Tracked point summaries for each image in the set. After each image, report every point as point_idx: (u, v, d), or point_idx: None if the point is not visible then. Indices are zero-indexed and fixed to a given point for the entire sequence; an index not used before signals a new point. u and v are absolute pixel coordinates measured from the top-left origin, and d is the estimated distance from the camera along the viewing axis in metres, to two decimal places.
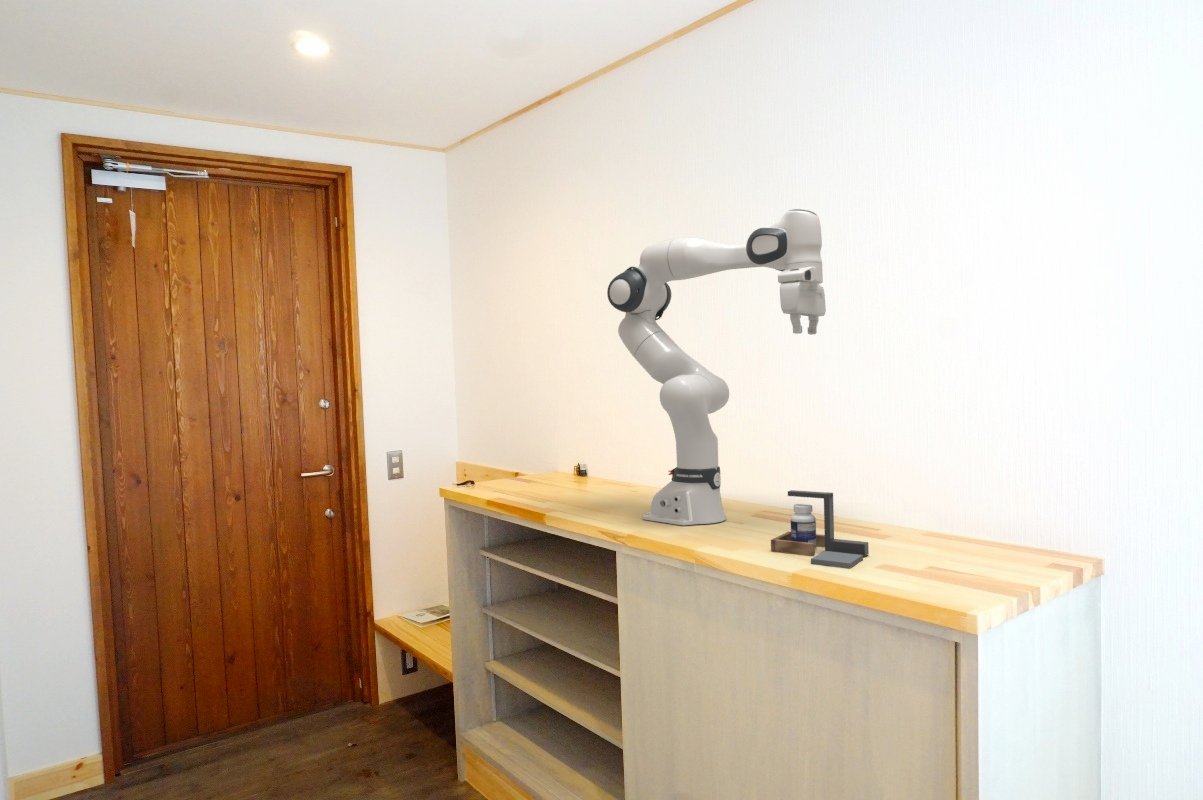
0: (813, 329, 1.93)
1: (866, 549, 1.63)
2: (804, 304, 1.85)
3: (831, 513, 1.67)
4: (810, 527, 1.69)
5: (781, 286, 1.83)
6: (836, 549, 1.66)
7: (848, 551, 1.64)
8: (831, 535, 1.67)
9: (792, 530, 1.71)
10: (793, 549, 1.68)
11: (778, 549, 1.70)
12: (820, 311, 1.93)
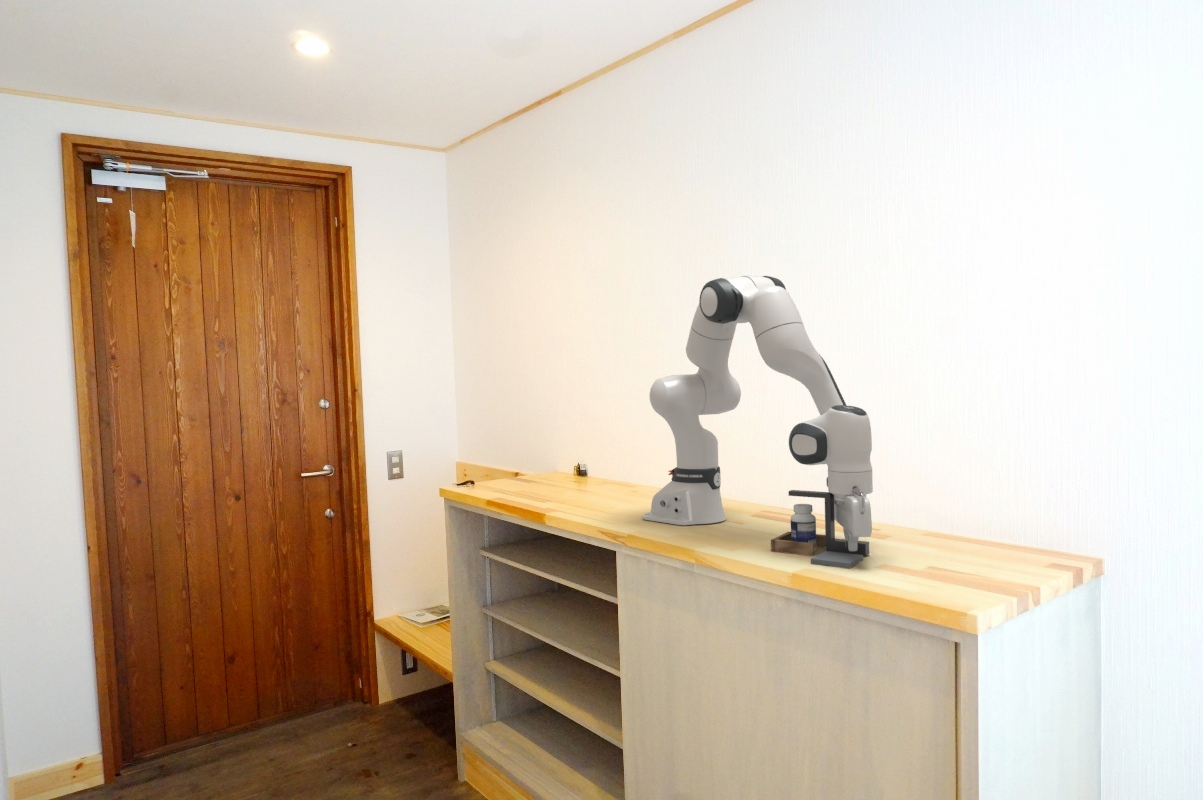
0: None
1: (867, 549, 1.64)
2: (836, 513, 1.67)
3: (832, 513, 1.68)
4: (810, 527, 1.69)
5: None
6: (836, 549, 1.66)
7: (849, 551, 1.65)
8: (832, 535, 1.68)
9: (792, 530, 1.71)
10: (793, 549, 1.68)
11: (778, 549, 1.70)
12: (848, 529, 1.57)
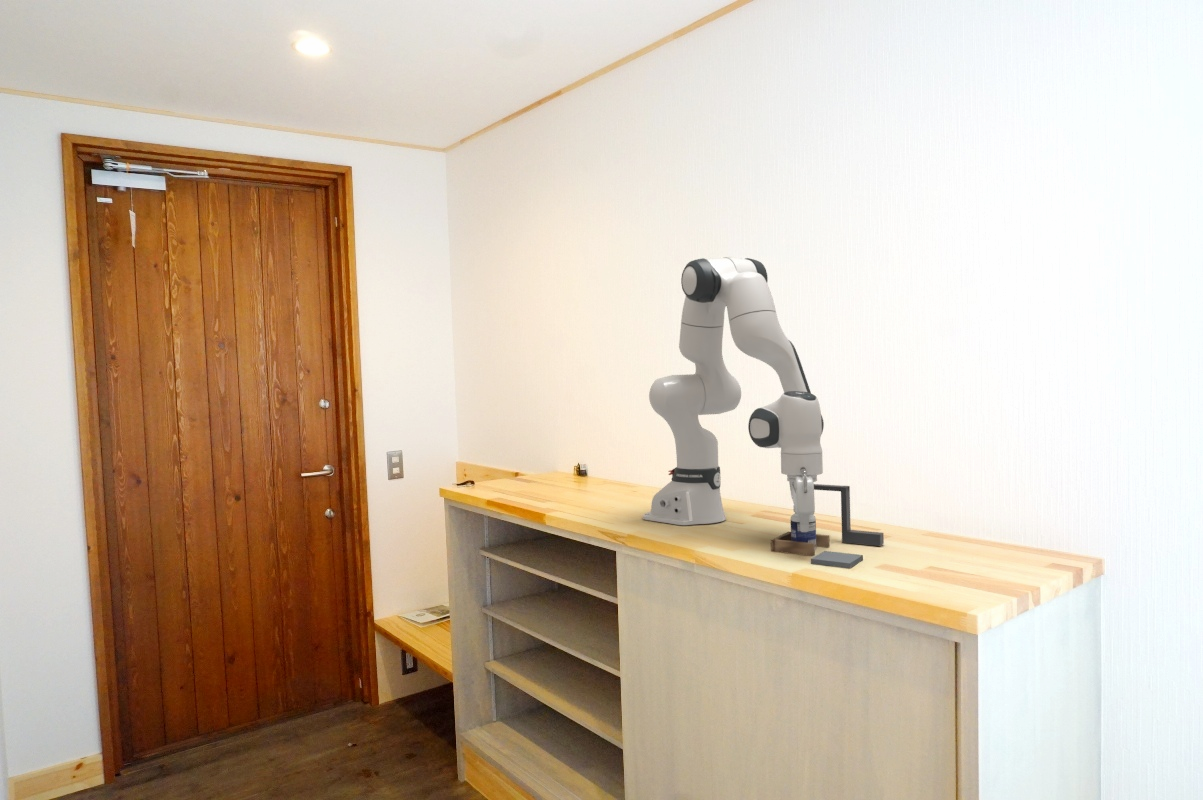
0: None
1: (881, 539, 1.72)
2: None
3: (848, 505, 1.76)
4: (810, 527, 1.69)
5: None
6: (852, 539, 1.75)
7: (864, 541, 1.73)
8: (848, 527, 1.76)
9: (792, 530, 1.71)
10: (793, 549, 1.68)
11: (778, 549, 1.70)
12: (795, 507, 1.66)
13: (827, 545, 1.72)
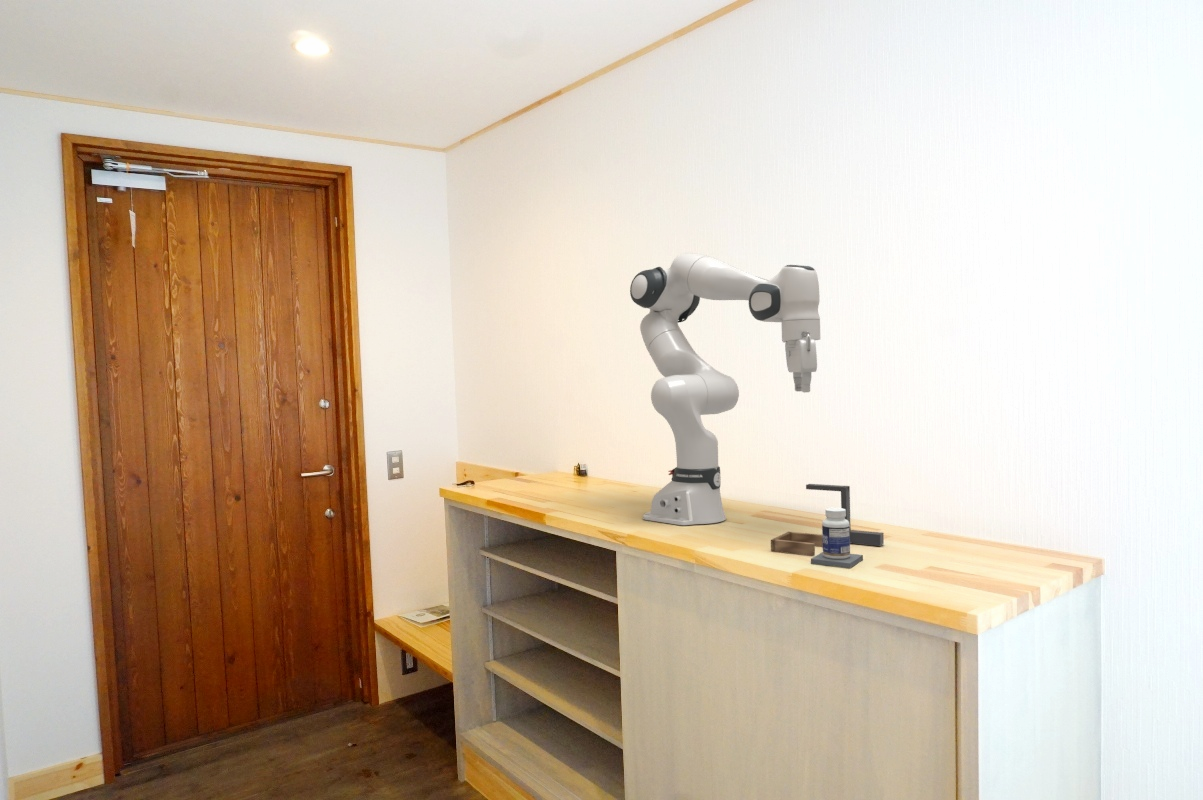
0: None
1: (881, 539, 1.72)
2: (790, 363, 1.89)
3: (848, 505, 1.76)
4: (842, 533, 1.57)
5: None
6: (852, 539, 1.75)
7: (864, 541, 1.73)
8: None
9: (824, 536, 1.59)
10: (793, 549, 1.68)
11: (778, 549, 1.70)
12: (798, 368, 1.79)
13: None
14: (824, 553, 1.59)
